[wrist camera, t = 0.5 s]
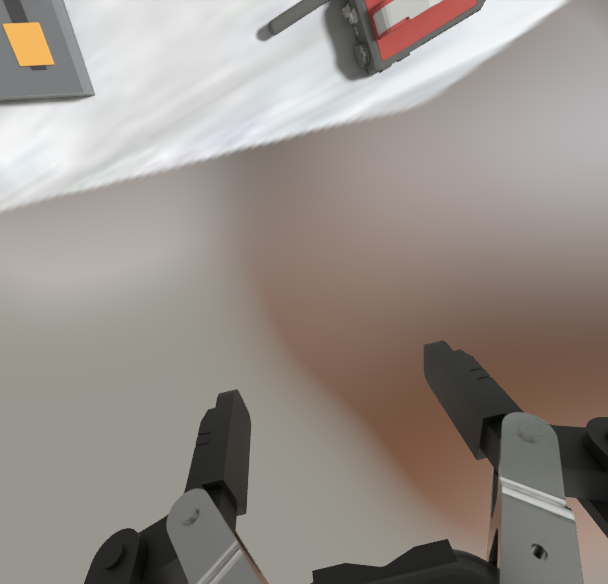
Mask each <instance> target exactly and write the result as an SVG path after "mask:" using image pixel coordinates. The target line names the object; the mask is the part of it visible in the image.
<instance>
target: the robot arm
mask: <svg viewBox="0 0 608 584" xmlns="http://www.w3.org/2000/svg"><path fill="white" fill-rule="evenodd" d="M424 374H425V378H426V380H427V383H428V384H429V386H430V388H431V389H432V391H433V392H434V394H435V395H436V397H437V399H438V400H439V402H440V403H441V405H442V406H443V408H444V410H445V411H446V413H447V414H448V416H449V417H450V419H451V420H452V422H453V424H454V425H455V427H456V428H457V430H458V431H459V433H460V435H461V436H462V438H463V439H464V441H465V442H466V444H467V446H468V447H469V448H470V450H471V452H472V453H473V455H474V457H475V458H476V460H479V459H483V458H488V460H489V461H490V463H491V464H492V465H493V470H492V485H491V504H490V522H489V532H488V540H487V552H486V561H485V560H483V559H481V558H480V557H478V556H475V555H473V554H470V553H468V552H464V551H460V550H455V549H452V548H451V545H450V543H449V541H448V539H446V540H441V541H437V542H433V543H428V544H425V545H420V546H416V547H413V548H412V549H410V550H409V551H407V552H406V553H404V554H403V555H401V556H400V557H398V558H397V559H395V560H394V561H392V562H391V563H389V564H388V565H386V566H384V567H375V566H367V565H358V564H349V563H344V564H339V565H335V566H331V567H327V568H323V569H318V570H314V571H312V572H313V582H312V583H311V584H584V581H583V574H582V567H581V559H580V552H579V544H578V537H577V530H576V523H575V518H574V514H573V512H572V510H571V509H570V508H568V507H567V505H566V501H565V497H573V498H577V499H578V501H579V502H580V503H581V504H582V506H583V507H584V508H585V509H586V510H587V512H588V513H589V514H590V516H591V517H592V518H593V520H594V521H595V522H596V524H597V525H598V526H599V527H600V529H601V530H602V531H603V533H604V534H605V535H606V536H607V538H608V417H597V418H594V419H592V420H590V421H589V422H588V424H587V426H586V428H583V427H569V426H555V425H550V424H547V423H546V422H545V421H543V420H542V419H540V418H538V417H536V416H534V415H531V414H528V413H525V412H523V411H522V410H521V409H520V408H519V407H518V406H517V404H516V403H515V402H514V401H513V400H512V399H511V398H510V397H509V396H508V395H507V393H506V392H505V391H504V390H503V389H502V388H501V387H500V386H499V385H498V384H497V383H496V381H495V380H494V379H492V377H490V375H489V374H488V373H487V372H486V371H485V369H483V368H482V366H481V365H480V364H479V363H478V362H477V361H476V360H475V359H474V357H472V356H470V355H469V354H467V353H465V352H464V351H461V350H456V351H453V350H452V349H451V348H450V346H449V345H448V344H447V343H446V342H445V341H438V342H433V343H429V344H425V345H424ZM250 436H251V421H250V415H249V412H248V410H247V408H246V406H245V404H244V401H243V399H242V397H241V395H240V393H239V391H238V390H237V389H236V390H232V391H228V392H224V393H220V394H218V397H217V402H216V407H215V408H213V409H209V410H208V411H207V412H206V414H205V416H204V417H203V419H202V421H201V423H200V428H199V432H198V437H197V441H196V448H195V450H194V454H193V458H192V463H191V467H190V471H189V476H188V480H187V484H186V488H185V492H184V494H183V495H182V496H181V497H180V498H179V499H178V500H177V501H176V502H175V503H174V505H173V506H172V508H171V510H170V512H169V514H168V515H167V516H165V517H164V518H163V519H161V520H159V521H158V522H156V523H154V524H153V525H151V526H149V527H148V528H146V529H145V530H143V531H141V532H139V533H138V532H136V531H135V530H134V529H131V528H127V529H123V530H120V531H118V532H116V533H115V534H113V535H112V536H111V537H110V538H109V539H107V540H106V542H105V543H104V544H103V545H102V546H101V547H100V549H99V550H98V552H97V553H96V555H95V557H94V559H93V561H92V563H91V566H90V569H89V571H88V574H87V577H86V579H85V582H84V584H269V583H268V581H267V580H266V578H265V577H264V575H263V573H262V572H261V570H260V569H259V567H258V565H257V564H256V563H255V561H254V559H253V558H252V556H251V554H250V553H249V551H248V549H247V548H246V546H245V545H244V543H243V542H242V540H241V539H240V537H239V535H238V534H237V532H236V530H235V529H236V516H239V515H243V514H246V507H247V490H248V472H249V454H250Z"/></svg>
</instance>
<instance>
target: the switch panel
mask: <svg viewBox="0 0 608 584" xmlns="http://www.w3.org/2000/svg"><path fill="white" fill-rule="evenodd" d="M91 95H95V93H94V90H93V87H92V84H91V81H90V78H89V75H88V72H87V69H86V66H85V63H84V60H83V57H82V54H81V51H80V48H79V45H78V42H77V40H76V37H75V34H74V31H73V28H72V25H71V22H70V19H69V16H68V13H67V10H66V7H65V4H64V1H63V0H0V101H4V100H22V99H39V98H56V97H73V96H91Z"/></svg>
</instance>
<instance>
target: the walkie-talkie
mask: <svg viewBox="0 0 608 584" xmlns="http://www.w3.org/2000/svg"><path fill="white" fill-rule="evenodd" d="M327 1H329V0H302V1H300V2H299V3H297V4H296V5H294V6H293V7H291V8H290V9H288V10H287V11H285V12H284V13H282V14H281V15H279V16H278V17H276V18H275V19H273V20H272V21H270V23H269V27H268V28H269V31H270V33H271V34H273V35H277V34H278V33H280V32H281V31H283V30H284V29H286V28H287V27H289V26H290V25H292V24H293V23H295V22H296V21H298V20H300V19H301V18H303V17H304V16H306V15H307V14H309V13H310V12H312V11H313V10H315V9H316V8H318V7H319V6H321V5H323V4H324V3H326V2H327ZM485 1H486V0H348V3H347V4H346V6H345V7H344V8H343V9H342V12H343V16H344V18H345V19H347V18H348V17H349V21H350V23H351V24H352V26H353V29H354V32H355V35H356V38H357V41H358V44H356V45H355V48H354V51H355V58H356V61H357V63H358V65H359V67H360V68H362V69H363V68H365V67H366V69H367V72H368V74H371V75H373V74H375V73H377V72H378V71H379V73H381V72H382V71H384V70H386V69H387V68H389V67H391V65H392V63H394V62H395V61H397V62H399V61H401V60H402V59H404V58H406V57H407V56H409V55H410V52H411V51H413V50H415V49H416V48H418V47H420V46H421V45H423V44H425V43H426V42H428V41H430V40H431V39H433V38H434V37H436V36H438V35H439V34H441V33H443V32H444V31H446V30H448V29H449V28H451V27H453V26H454V25H456V24H458V23H459V22H461V21H463V20H464V19H466V18H468V17H469V16H471V15H473V14H474V13H476V12H478V11H479V10H481V8H482V6H483V4H484V2H485Z"/></svg>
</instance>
